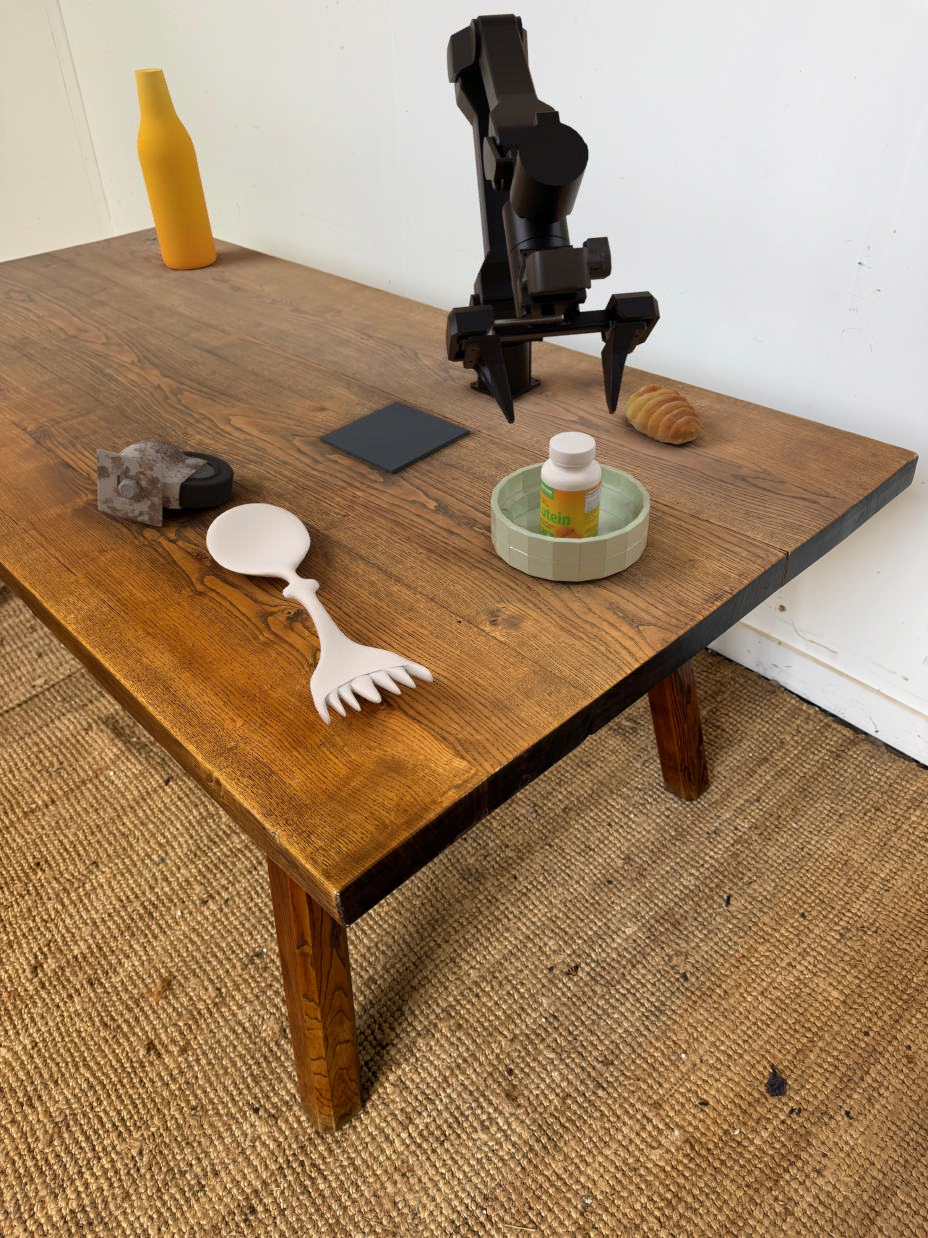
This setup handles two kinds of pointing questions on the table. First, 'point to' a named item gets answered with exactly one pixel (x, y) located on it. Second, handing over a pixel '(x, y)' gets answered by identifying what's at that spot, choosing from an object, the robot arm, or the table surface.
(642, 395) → the pastry
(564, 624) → the table surface
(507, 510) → the bowl
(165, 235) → the beer bottle
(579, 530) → the supplement bottle
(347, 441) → the mat
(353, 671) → the spoon
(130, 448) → the caster wheel
